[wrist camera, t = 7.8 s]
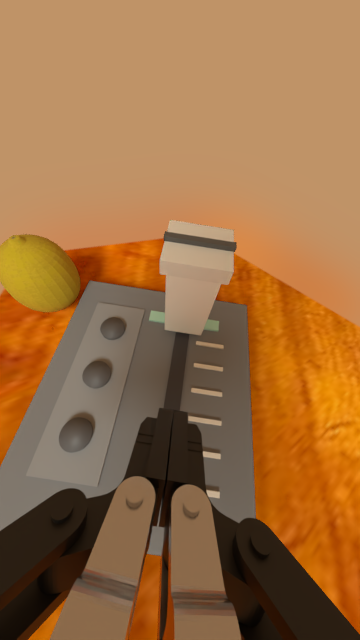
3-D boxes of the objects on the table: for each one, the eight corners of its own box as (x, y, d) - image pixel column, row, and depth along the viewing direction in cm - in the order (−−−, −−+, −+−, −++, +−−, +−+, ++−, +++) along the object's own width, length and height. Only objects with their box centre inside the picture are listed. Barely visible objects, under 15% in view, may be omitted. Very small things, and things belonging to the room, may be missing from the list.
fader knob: (207, 306, 19) (236, 225, 12) (204, 339, 17) (236, 267, 10) (166, 300, 19) (169, 214, 12) (159, 332, 17) (158, 255, 10)
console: (240, 315, 22) (249, 301, 20) (245, 552, 13) (262, 577, 11) (95, 292, 22) (87, 276, 20) (-3, 514, 13) (-38, 530, 11)
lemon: (66, 276, 23) (23, 205, 16) (102, 299, 21) (72, 233, 15) (21, 308, 20) (-52, 241, 13) (59, 337, 19) (-1, 279, 12)
